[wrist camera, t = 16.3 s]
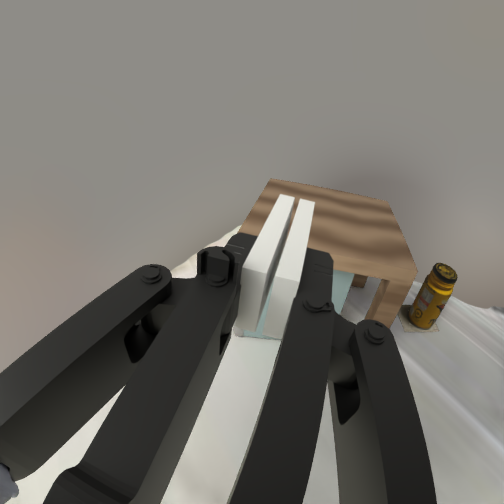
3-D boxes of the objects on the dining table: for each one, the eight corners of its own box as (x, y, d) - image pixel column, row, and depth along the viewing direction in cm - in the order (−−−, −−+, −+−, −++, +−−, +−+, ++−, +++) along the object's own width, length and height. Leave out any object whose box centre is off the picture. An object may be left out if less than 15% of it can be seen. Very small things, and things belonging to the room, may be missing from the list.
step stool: (261, 259, 61) (270, 178, 51) (362, 279, 57) (387, 201, 47) (231, 336, 43) (235, 235, 33) (368, 362, 39) (417, 271, 29)
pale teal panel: (234, 326, 44) (238, 245, 36) (327, 334, 43) (354, 258, 35) (232, 335, 42) (235, 254, 34) (328, 344, 42) (357, 267, 33)
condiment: (438, 331, 44) (467, 283, 38) (404, 332, 44) (432, 281, 38) (426, 306, 50) (450, 259, 44) (394, 305, 51) (416, 255, 44)
